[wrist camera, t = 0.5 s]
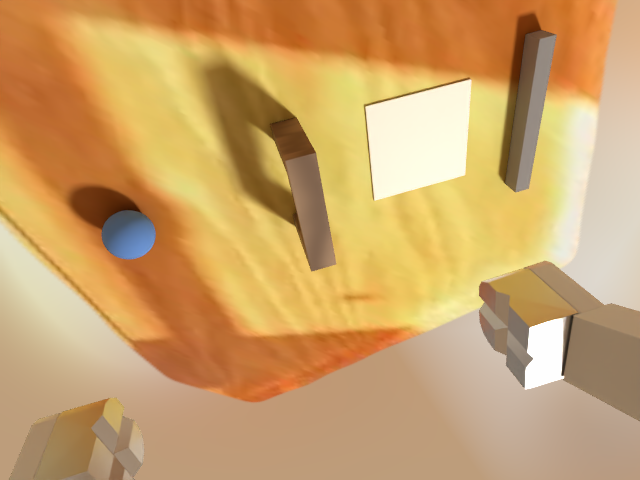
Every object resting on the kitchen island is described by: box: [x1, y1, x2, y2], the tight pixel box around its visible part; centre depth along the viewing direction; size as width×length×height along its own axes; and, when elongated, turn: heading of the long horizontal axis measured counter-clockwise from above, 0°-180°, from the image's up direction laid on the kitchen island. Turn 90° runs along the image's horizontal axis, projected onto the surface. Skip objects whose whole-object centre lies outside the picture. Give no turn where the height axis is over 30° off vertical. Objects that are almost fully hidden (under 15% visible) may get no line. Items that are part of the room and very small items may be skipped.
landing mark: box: [365, 79, 471, 201], centre depth 53 cm, size 13×13×1 cm
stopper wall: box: [505, 30, 556, 192], centre depth 53 cm, size 20×2×2 cm, turn 10°
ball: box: [102, 210, 156, 259], centre depth 48 cm, size 6×6×6 cm
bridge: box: [270, 118, 336, 272], centre depth 48 cm, size 3×14×9 cm, turn 10°
